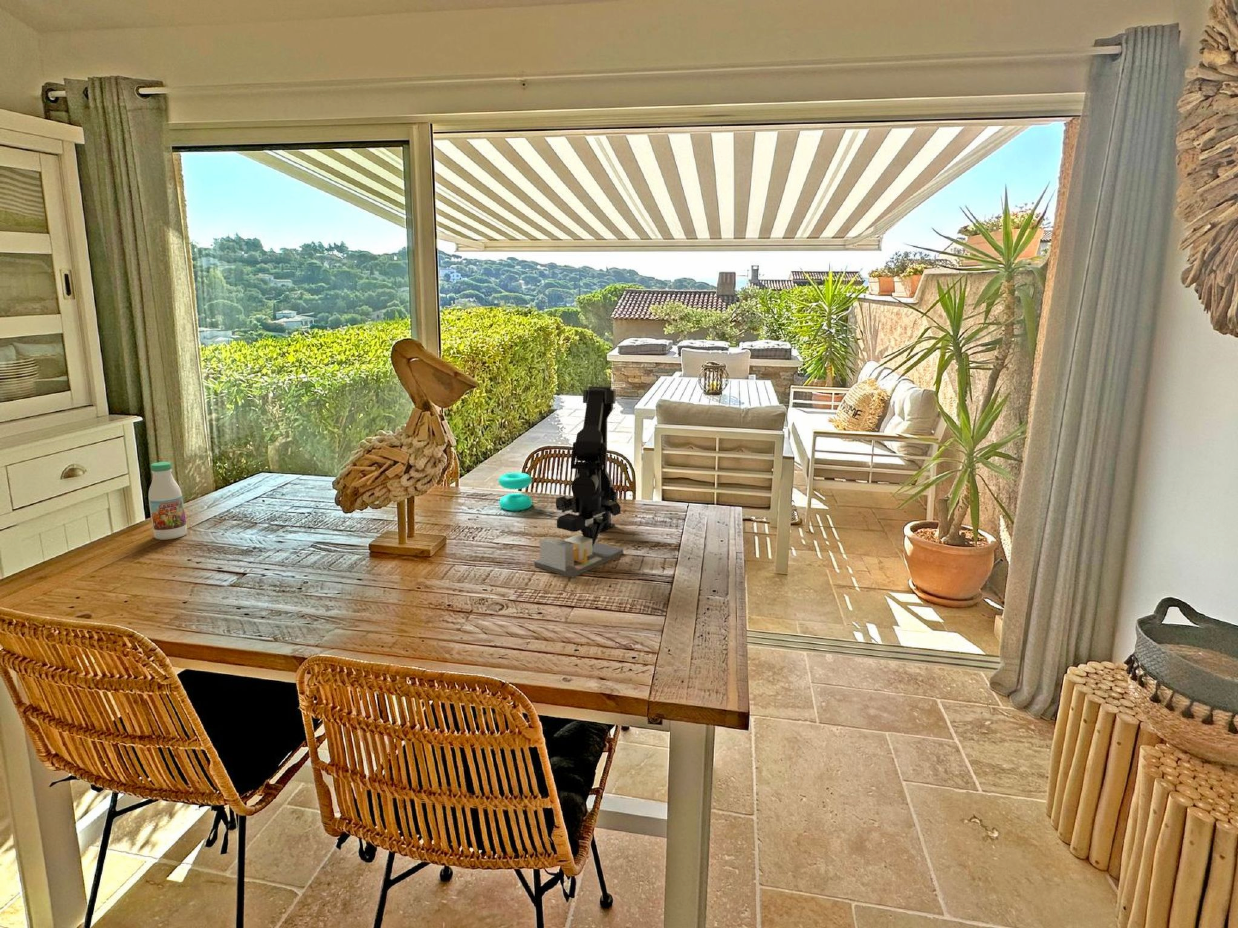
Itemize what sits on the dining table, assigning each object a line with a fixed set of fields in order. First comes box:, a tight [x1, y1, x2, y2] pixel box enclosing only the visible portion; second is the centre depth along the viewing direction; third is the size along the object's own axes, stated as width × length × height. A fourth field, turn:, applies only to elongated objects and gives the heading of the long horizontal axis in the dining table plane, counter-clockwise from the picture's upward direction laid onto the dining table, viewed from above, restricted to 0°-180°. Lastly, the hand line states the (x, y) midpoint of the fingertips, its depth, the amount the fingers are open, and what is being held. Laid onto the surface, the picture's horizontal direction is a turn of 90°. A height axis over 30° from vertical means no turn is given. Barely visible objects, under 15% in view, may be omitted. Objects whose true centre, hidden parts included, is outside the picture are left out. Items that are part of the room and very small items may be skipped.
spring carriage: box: [563, 534, 592, 559], centre depth 179 cm, size 5×5×4 cm
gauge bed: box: [533, 536, 624, 579], centre depth 180 cm, size 20×12×7 cm, turn 143°
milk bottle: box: [147, 461, 188, 540], centre depth 193 cm, size 8×8×20 cm
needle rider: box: [574, 547, 587, 564], centre depth 176 cm, size 2×8×4 cm, turn 53°
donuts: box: [498, 472, 533, 512], centre depth 222 cm, size 10×10×10 cm
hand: (589, 547), depth 183 cm, fingers closed
